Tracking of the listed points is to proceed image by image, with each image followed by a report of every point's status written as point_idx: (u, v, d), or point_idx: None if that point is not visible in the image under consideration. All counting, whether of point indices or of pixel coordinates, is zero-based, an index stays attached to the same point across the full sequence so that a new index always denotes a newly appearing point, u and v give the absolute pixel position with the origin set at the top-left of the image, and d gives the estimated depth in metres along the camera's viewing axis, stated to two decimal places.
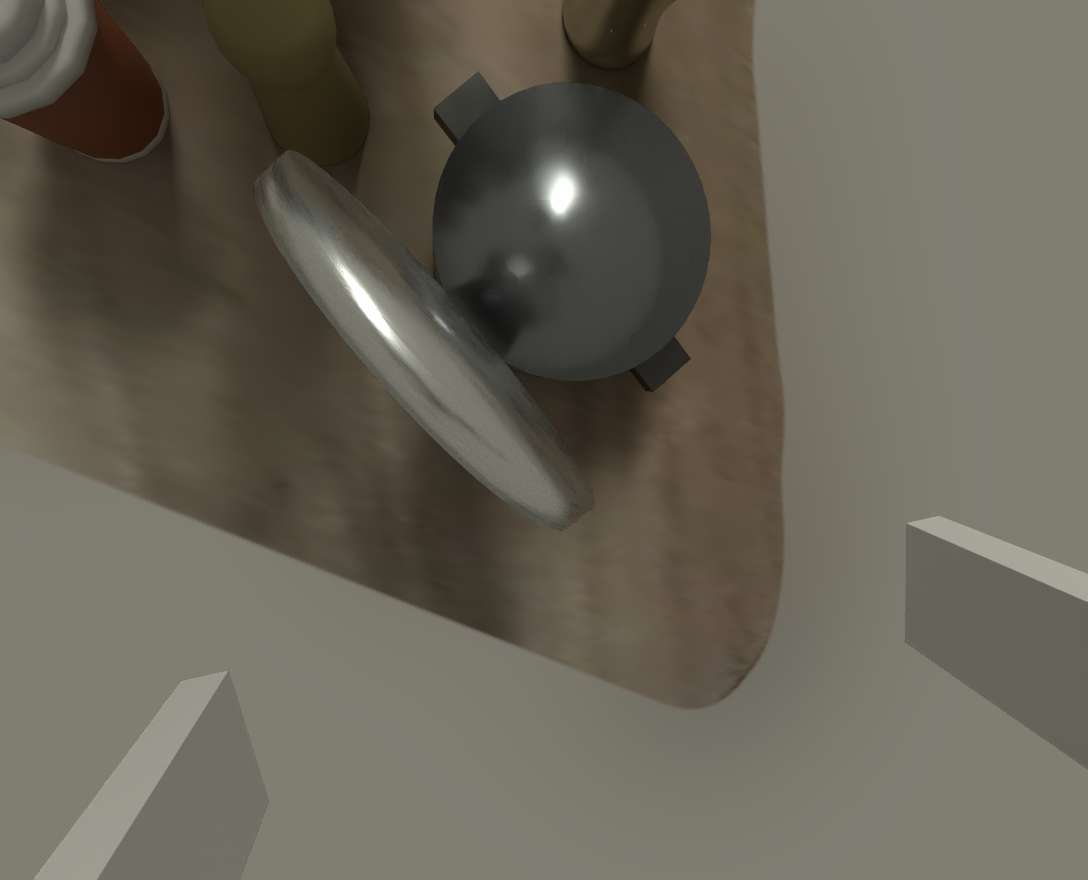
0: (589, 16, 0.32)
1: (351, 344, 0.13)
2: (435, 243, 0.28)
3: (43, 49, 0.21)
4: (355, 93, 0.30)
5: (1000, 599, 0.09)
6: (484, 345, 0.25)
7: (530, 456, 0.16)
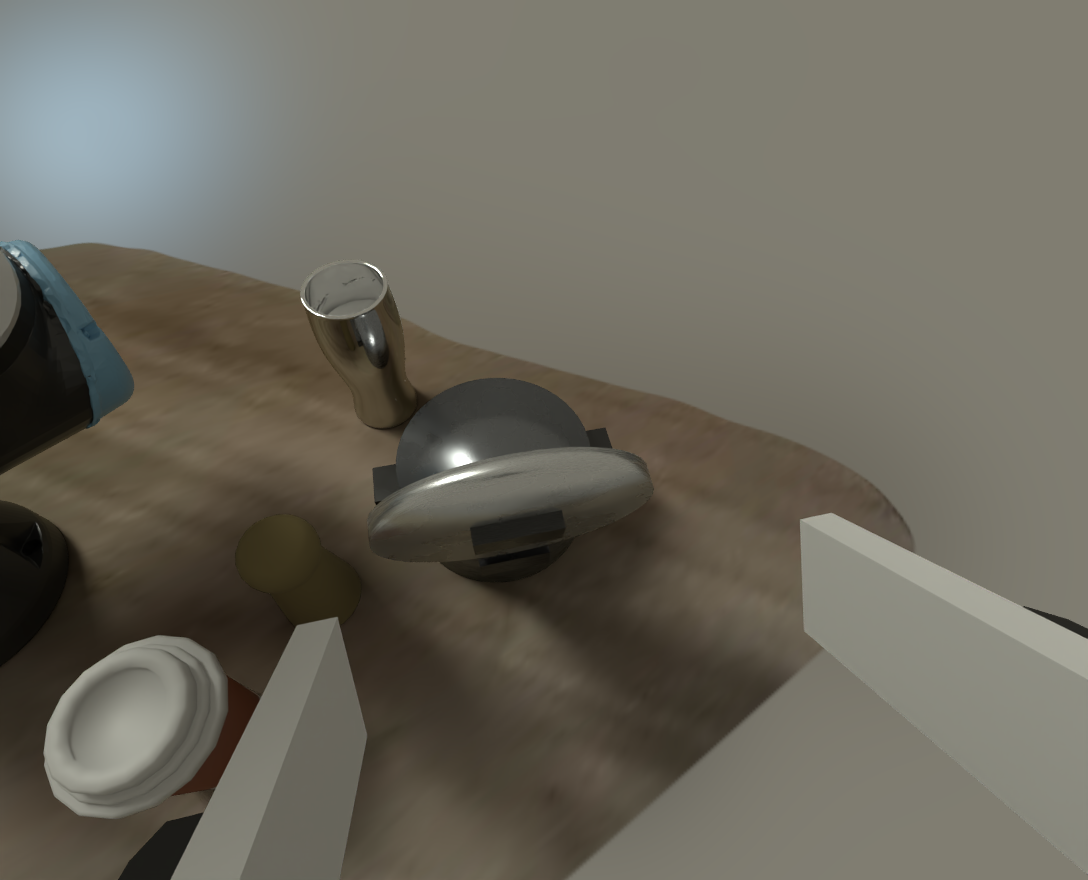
0: (381, 407, 0.51)
1: (481, 488, 0.24)
2: None
3: (205, 685, 0.31)
4: (333, 554, 0.43)
5: (867, 588, 0.10)
6: None
7: None
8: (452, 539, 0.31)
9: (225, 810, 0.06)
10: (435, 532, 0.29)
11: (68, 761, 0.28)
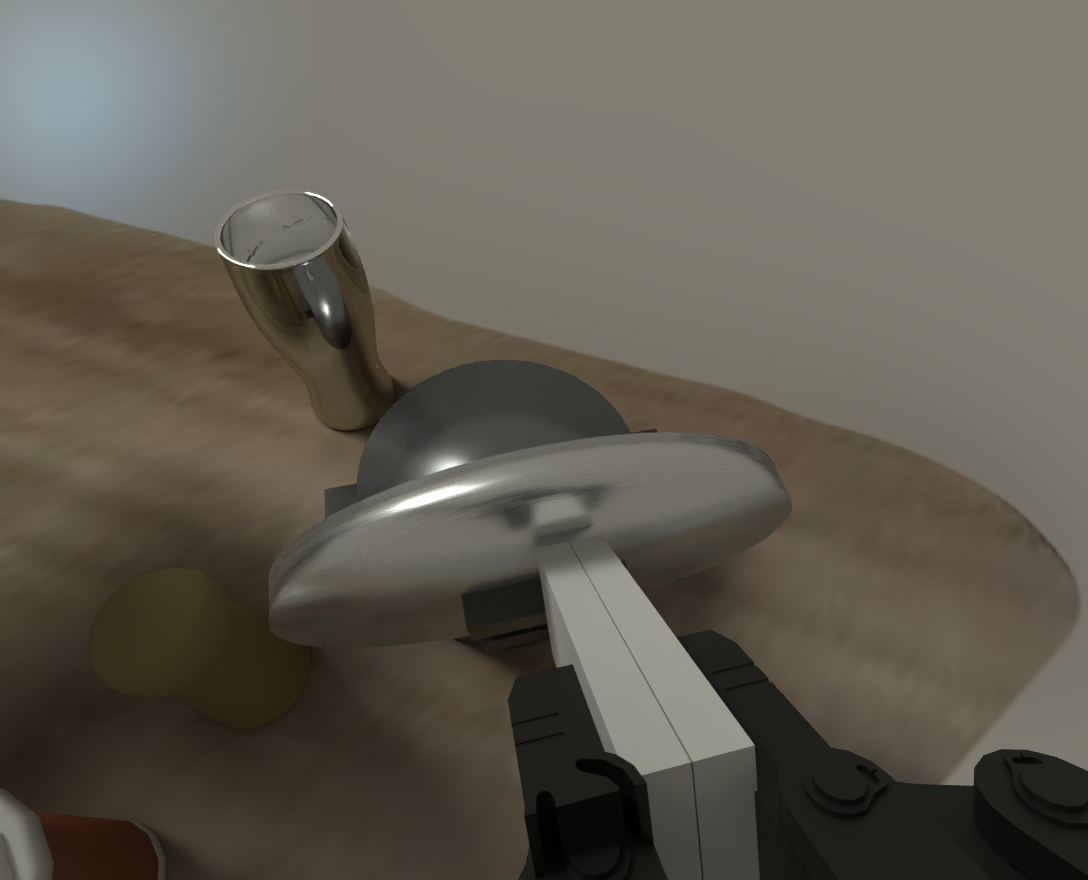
0: (345, 403, 0.38)
1: (478, 522, 0.11)
2: None
3: None
4: (268, 614, 0.30)
5: None
6: None
7: None
8: (432, 613, 0.18)
9: (595, 654, 0.08)
10: (397, 605, 0.16)
11: None
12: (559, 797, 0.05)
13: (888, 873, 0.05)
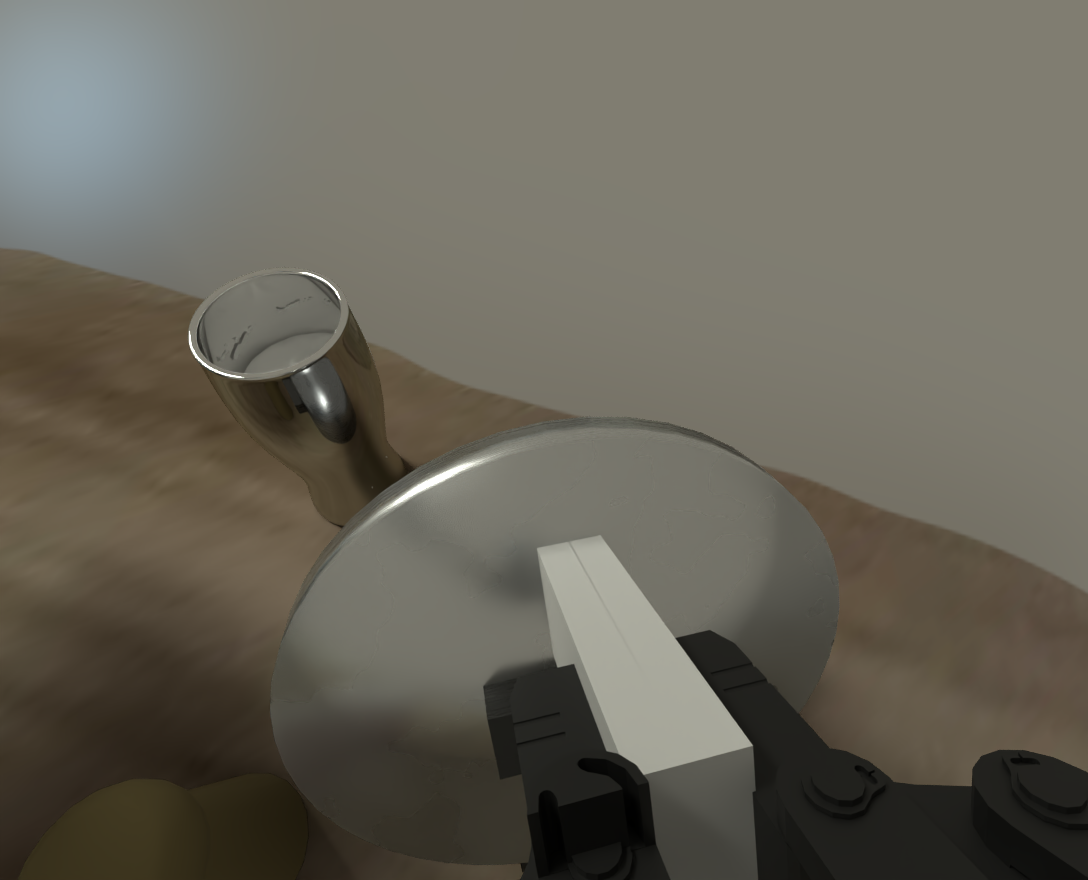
0: (349, 500, 0.32)
1: (482, 473, 0.12)
2: None
3: None
4: (254, 790, 0.24)
5: None
6: None
7: None
8: (452, 740, 0.15)
9: (597, 654, 0.08)
10: (411, 691, 0.14)
11: None
12: (562, 796, 0.05)
13: (886, 874, 0.05)
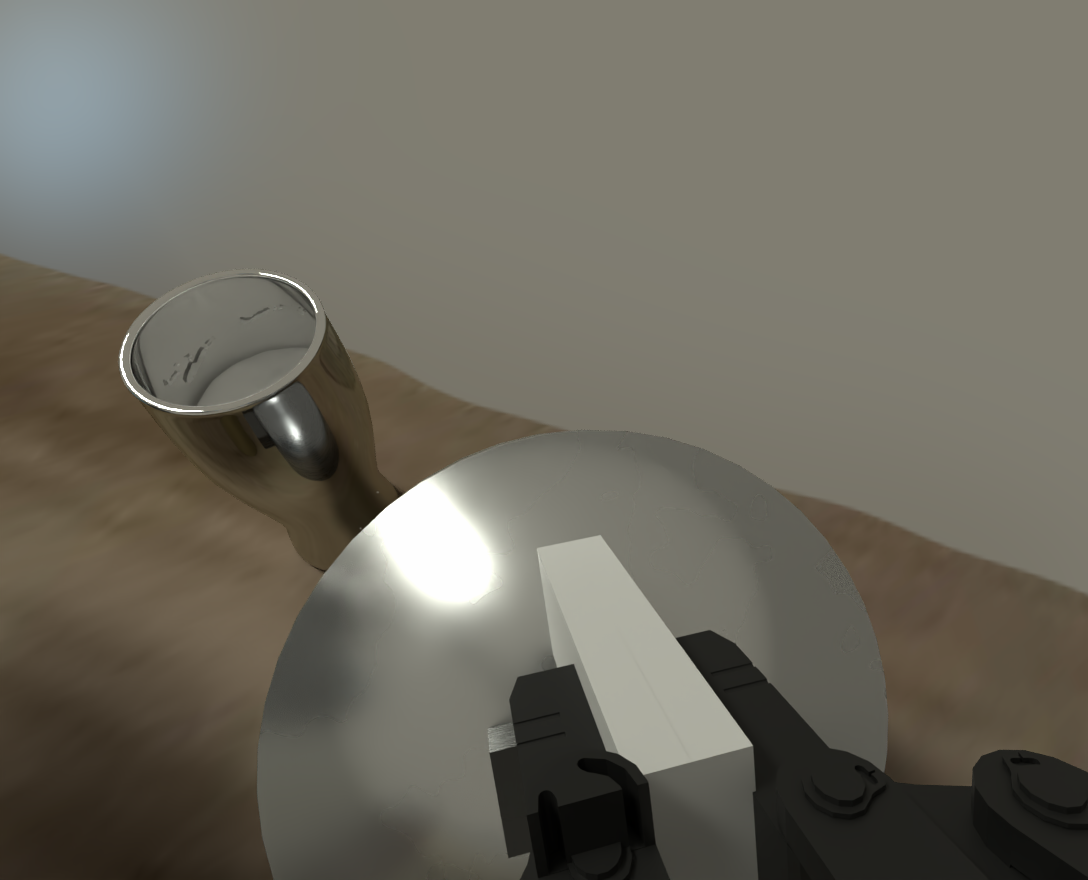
0: (333, 544, 0.27)
1: (479, 462, 0.13)
2: None
3: None
4: None
5: None
6: None
7: None
8: (454, 813, 0.13)
9: (596, 654, 0.08)
10: (409, 730, 0.13)
11: None
12: (562, 796, 0.05)
13: (886, 874, 0.05)
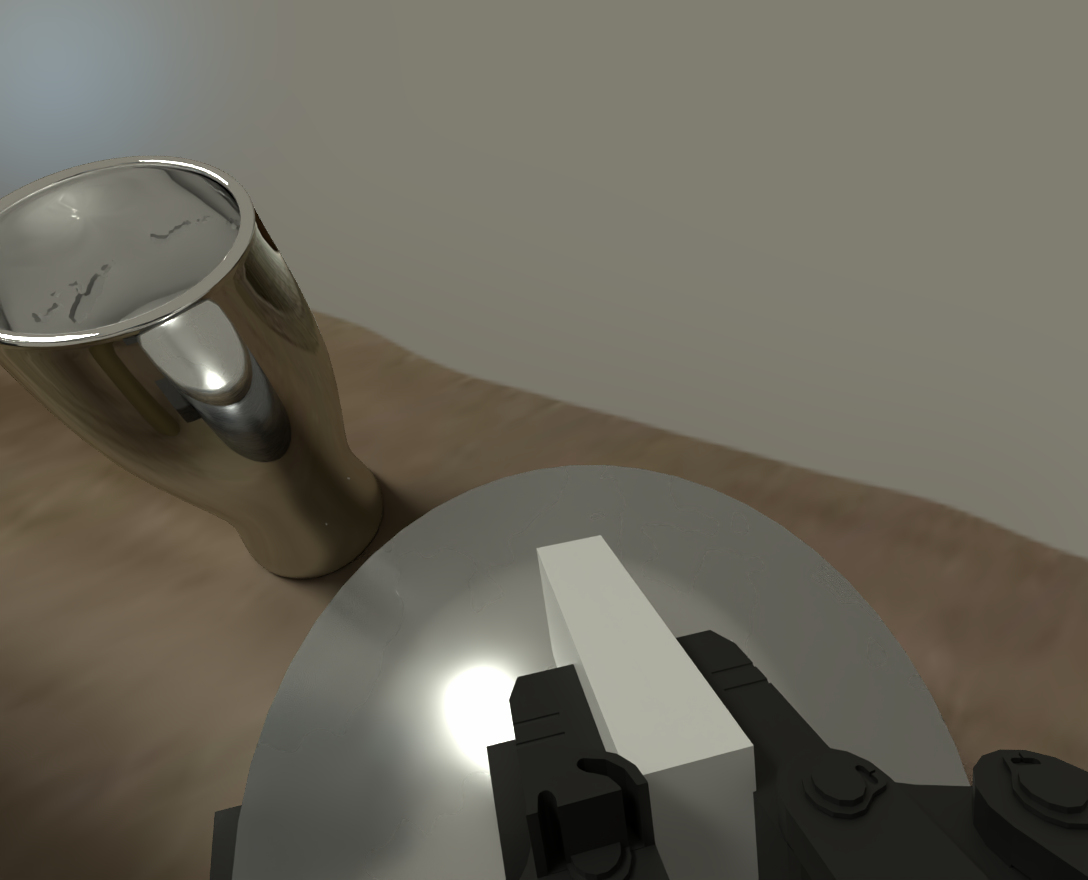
0: (291, 544, 0.21)
1: (483, 491, 0.15)
2: None
3: None
4: None
5: None
6: None
7: None
8: (450, 861, 0.11)
9: (596, 654, 0.08)
10: (406, 748, 0.12)
11: None
12: (561, 796, 0.05)
13: (887, 874, 0.05)
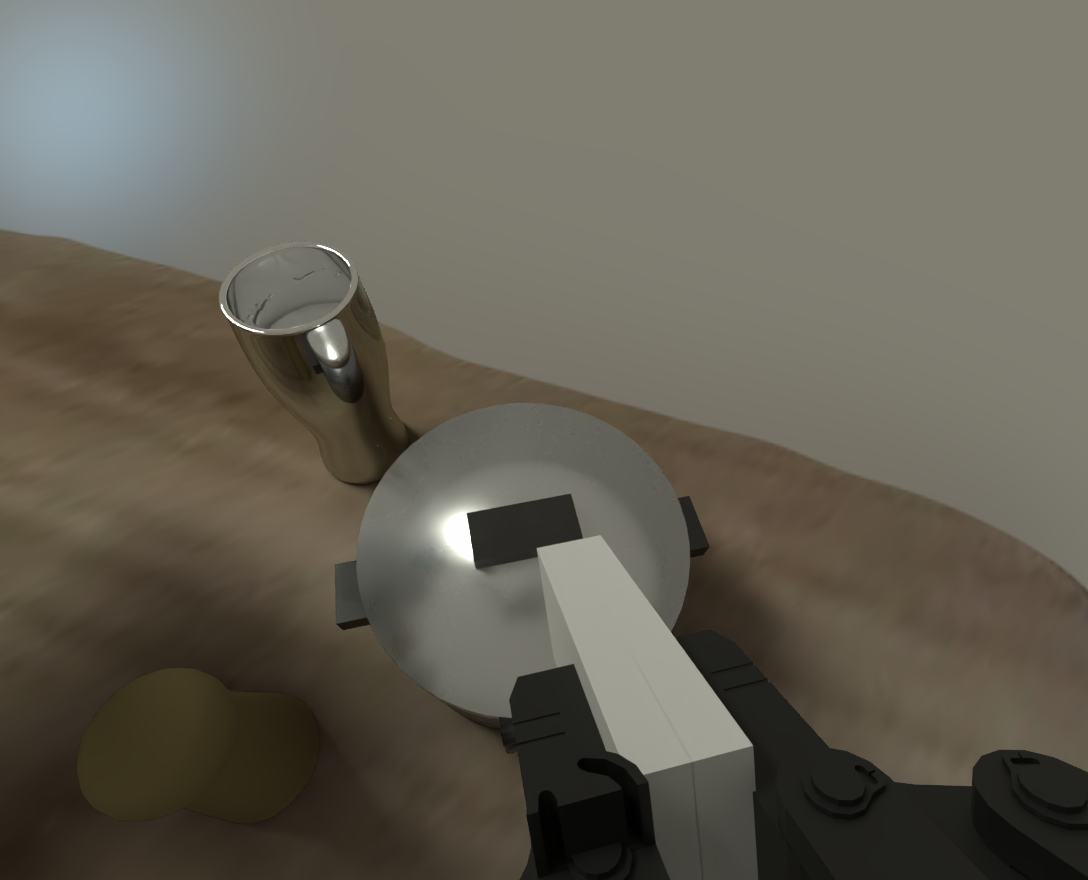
0: (356, 457, 0.36)
1: (468, 415, 0.30)
2: None
3: None
4: (273, 699, 0.28)
5: None
6: None
7: None
8: (450, 561, 0.25)
9: (596, 654, 0.08)
10: (430, 521, 0.27)
11: None
12: (561, 796, 0.05)
13: (887, 874, 0.05)
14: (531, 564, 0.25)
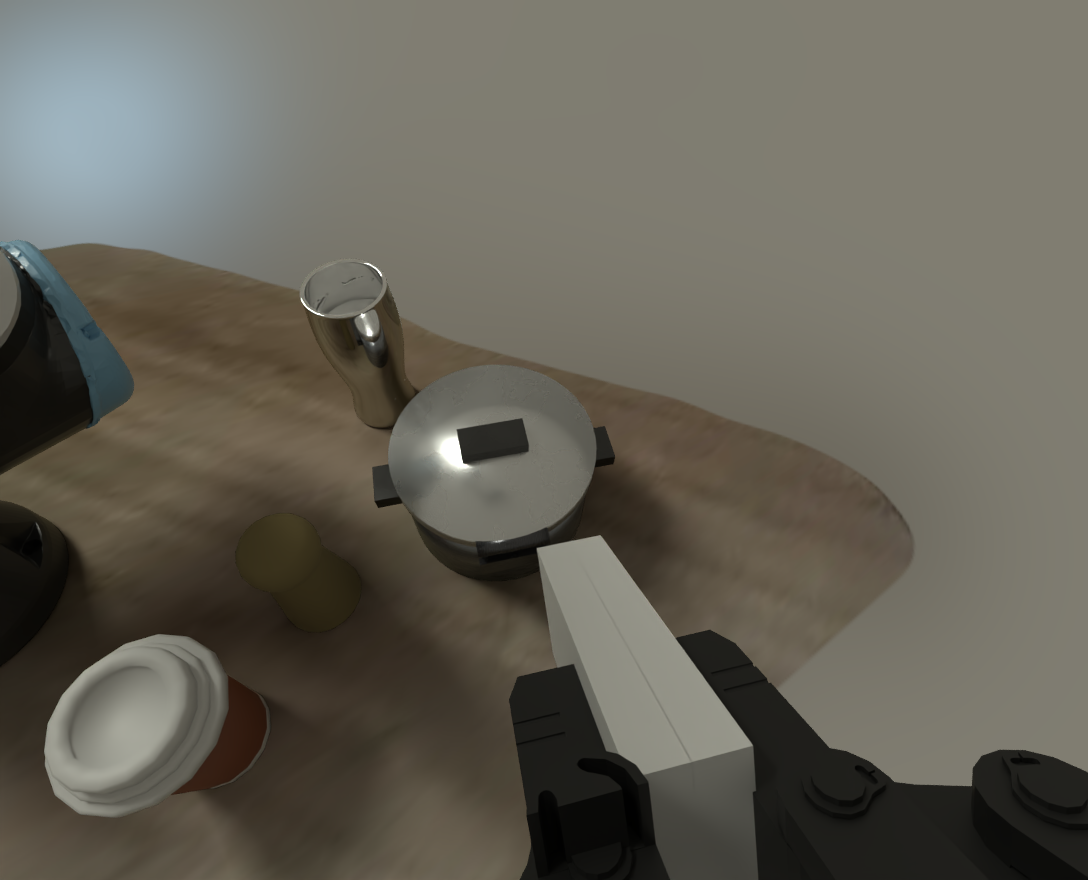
0: (381, 407, 0.51)
1: (458, 372, 0.45)
2: None
3: (206, 683, 0.31)
4: (333, 553, 0.43)
5: None
6: None
7: None
8: (446, 458, 0.41)
9: (596, 654, 0.08)
10: (434, 436, 0.42)
11: (69, 760, 0.28)
12: (562, 796, 0.05)
13: (886, 874, 0.05)
14: (496, 460, 0.41)
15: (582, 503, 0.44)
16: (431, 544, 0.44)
